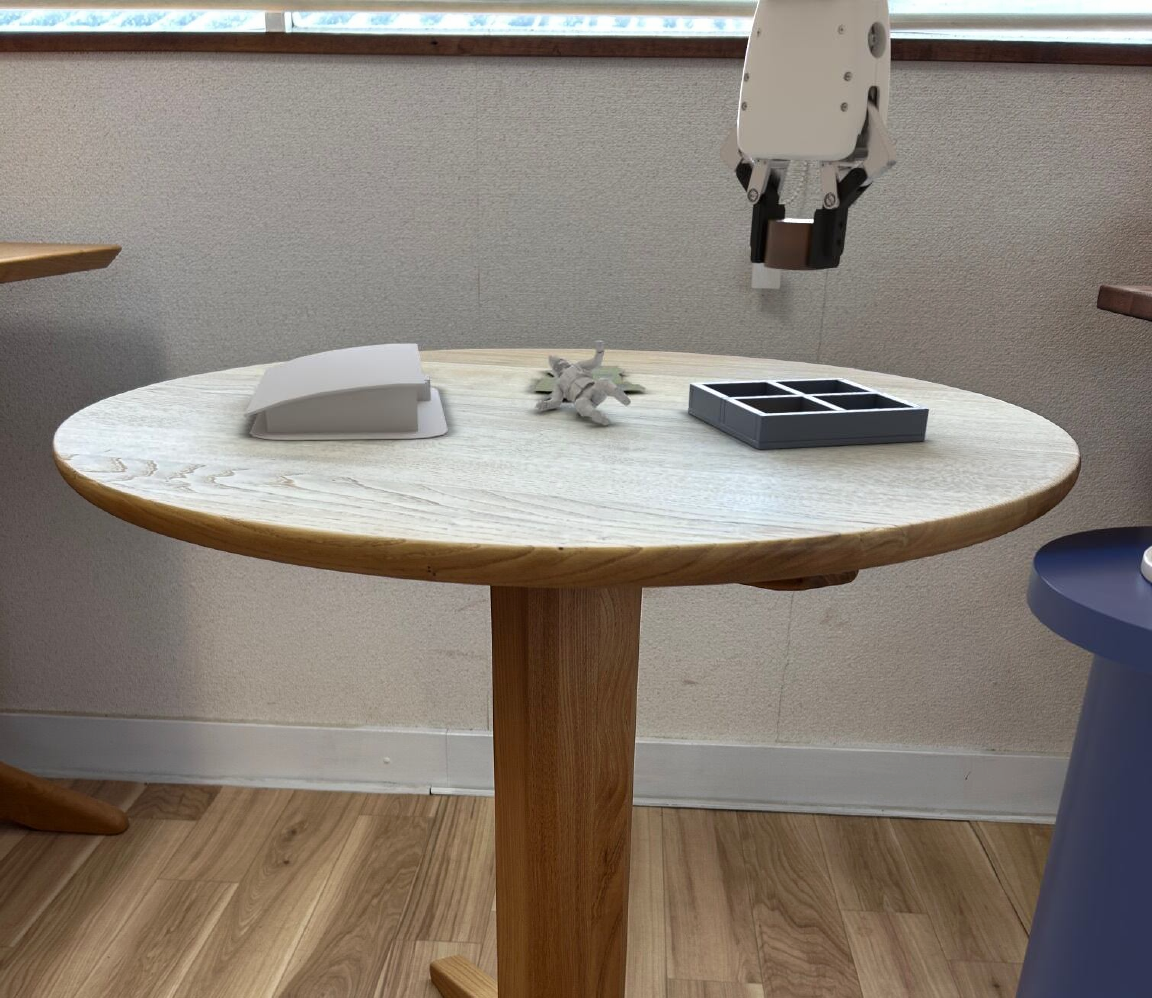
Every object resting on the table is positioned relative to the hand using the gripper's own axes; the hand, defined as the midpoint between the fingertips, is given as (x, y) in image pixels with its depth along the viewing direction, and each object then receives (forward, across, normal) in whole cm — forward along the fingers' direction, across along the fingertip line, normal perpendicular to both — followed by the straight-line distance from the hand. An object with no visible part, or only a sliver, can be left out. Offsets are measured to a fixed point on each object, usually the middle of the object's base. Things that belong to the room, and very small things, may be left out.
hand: (794, 262), depth 91 cm
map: (+13, +26, -6) cm, 29 cm away
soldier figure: (+13, +17, +4) cm, 22 cm away
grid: (+13, +1, -5) cm, 14 cm away
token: (0, 0, 0) cm, 0 cm away
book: (+13, +31, +18) cm, 38 cm away
